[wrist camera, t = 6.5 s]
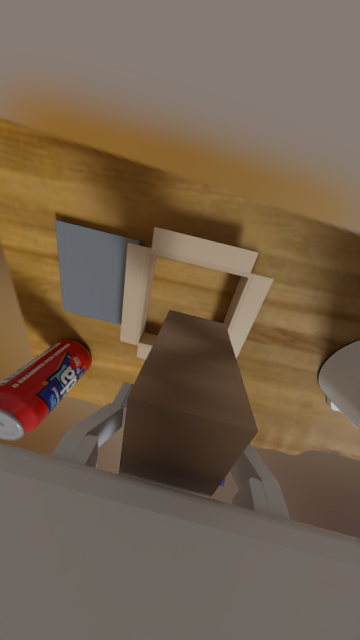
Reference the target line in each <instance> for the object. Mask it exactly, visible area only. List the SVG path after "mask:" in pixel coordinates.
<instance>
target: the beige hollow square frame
mask: <svg viewBox="0 0 360 640" xmlns="http://www.w3.org/2000/svg"><path fill="white" fill-rule="evenodd" d="M156 255H158V256H162V257H166V258H170V259H174V260H178V261H182V262H186V263H191V264H195V265H199V266H203V267H207V268H211V269H215V270H219V271H223V272H227V273H231V274H235V275H239V276H241V277H240V280H239V283H238V285H237V288H236V291H235V293H234V296H233V298H232V301H231V304H230V306H229V309H228V312H227V314H226V317H225V319H224V322H223V324H226V327H227V330H228V334H229V337H230V340H231V344H232V347H233V350H234V354H235V357H236V359H237V357H238V354H239V352H240V350H241V348H242V346H243V344H244V342H245V340H246V337H247V335H248V333H249V331H250V329H251V327H252V325H253V322H254V320H255V318H256V316H257V314H258V312H259V310H260V308H261V305H262V303H263V301H264V299H265V297H266V295H267V293H268V291H269V288H270V286H271V284H272V282H273V280H274V279H272V278H268V277H264V276H260V275H256V274H253V273H251V271H252V268H253V266H254V263H255V261H256V258H257V256H258V252H254V251H250V250H246V249H242V248H238V247H234V246H230V245H226V244H222V243H218V242H214V241H210V240H206V239H202V238H198V237H194V236H190V235H186V234H182V233H178V232H174V231H170V230H166V229H162V228H158V227H154V234H153V241H152V247H144V246H139V245H135V244H131V243H128V246H127V259H126V272H125V285H124V298H123V311H122V324H121V337H120V341H122V342H126V343H130V344H134V345H138V351H137V357H138V358H142V359H147V356H148V354H149V352H150V350H151V348H152V346H153V344H154V342H155V340H156V338H157V336H158V335H154V334H149V333H145V328H146V321H147V314H148V308H149V301H150V295H151V288H152V281H153V275H154V268H155V261H156Z"/></svg>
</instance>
